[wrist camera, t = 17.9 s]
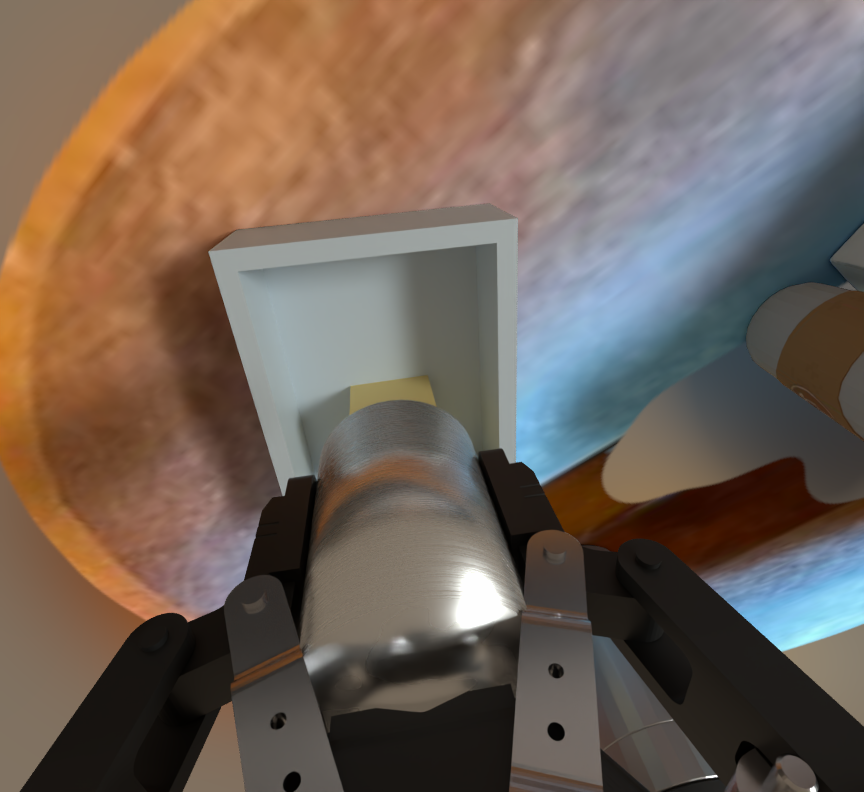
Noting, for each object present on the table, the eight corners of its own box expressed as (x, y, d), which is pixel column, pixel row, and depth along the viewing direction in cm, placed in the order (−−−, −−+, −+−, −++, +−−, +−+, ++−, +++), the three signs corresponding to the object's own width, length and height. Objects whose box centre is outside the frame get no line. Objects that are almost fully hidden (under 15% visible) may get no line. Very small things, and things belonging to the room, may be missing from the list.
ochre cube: (427, 375, 31) (438, 414, 26) (434, 438, 33) (445, 484, 29) (350, 385, 30) (348, 427, 26) (363, 449, 33) (363, 497, 29)
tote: (494, 459, 36) (515, 510, 31) (306, 487, 35) (297, 543, 30) (489, 203, 27) (517, 218, 22) (236, 229, 26) (208, 251, 21)
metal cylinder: (472, 390, 14) (554, 579, 8) (476, 513, 17) (542, 729, 11) (304, 411, 14) (261, 626, 8) (333, 534, 16) (318, 771, 10)
